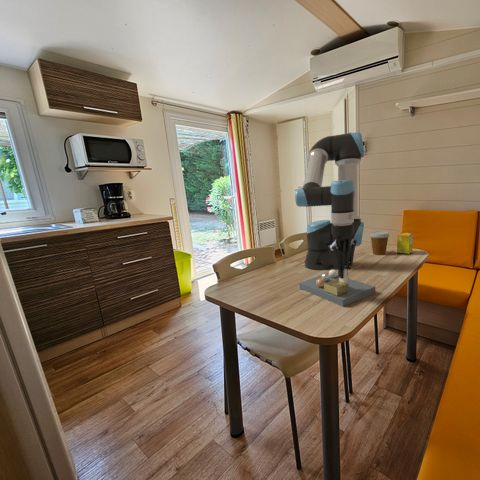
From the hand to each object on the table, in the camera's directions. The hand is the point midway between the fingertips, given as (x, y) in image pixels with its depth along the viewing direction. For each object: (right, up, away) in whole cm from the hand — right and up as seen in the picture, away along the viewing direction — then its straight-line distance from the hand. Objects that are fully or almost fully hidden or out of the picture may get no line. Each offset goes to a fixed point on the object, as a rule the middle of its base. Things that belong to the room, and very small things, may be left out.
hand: (343, 285), depth 99 cm
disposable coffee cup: (+39, +9, +49) cm, 63 cm away
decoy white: (+1, +3, +13) cm, 13 cm away
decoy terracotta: (-7, 0, +4) cm, 8 cm away
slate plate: (-1, -3, +6) cm, 7 cm away
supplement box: (+52, +10, +46) cm, 70 cm away
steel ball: (-4, +2, +9) cm, 10 cm away
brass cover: (-3, -2, -1) cm, 4 cm away
